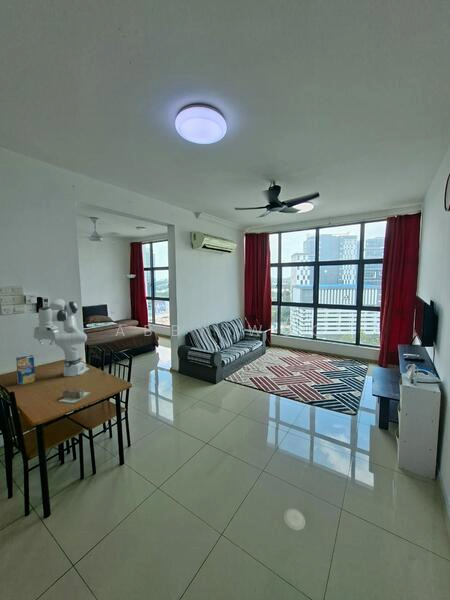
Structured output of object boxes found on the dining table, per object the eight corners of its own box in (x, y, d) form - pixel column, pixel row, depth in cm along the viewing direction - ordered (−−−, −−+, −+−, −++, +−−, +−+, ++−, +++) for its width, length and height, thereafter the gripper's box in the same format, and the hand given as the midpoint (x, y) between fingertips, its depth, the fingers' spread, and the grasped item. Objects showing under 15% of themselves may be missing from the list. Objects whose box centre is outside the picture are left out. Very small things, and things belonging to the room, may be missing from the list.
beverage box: (35, 381, 210) (33, 356, 209) (18, 385, 202) (17, 359, 201) (33, 379, 215) (32, 355, 213) (17, 382, 207) (16, 357, 205)
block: (68, 387, 187) (84, 389, 185) (68, 393, 187) (84, 395, 185) (62, 390, 182) (79, 392, 180) (63, 396, 182) (79, 398, 180)
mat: (75, 391, 193) (75, 390, 192) (90, 393, 190) (90, 392, 190) (58, 401, 177) (58, 400, 177) (75, 403, 175) (75, 402, 175)
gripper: (30, 327, 191) (31, 344, 192) (53, 328, 188) (54, 346, 189) (38, 326, 197) (39, 342, 198) (60, 327, 194) (60, 344, 195)
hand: (46, 344), depth 193 cm, fingers open, 8 cm apart
